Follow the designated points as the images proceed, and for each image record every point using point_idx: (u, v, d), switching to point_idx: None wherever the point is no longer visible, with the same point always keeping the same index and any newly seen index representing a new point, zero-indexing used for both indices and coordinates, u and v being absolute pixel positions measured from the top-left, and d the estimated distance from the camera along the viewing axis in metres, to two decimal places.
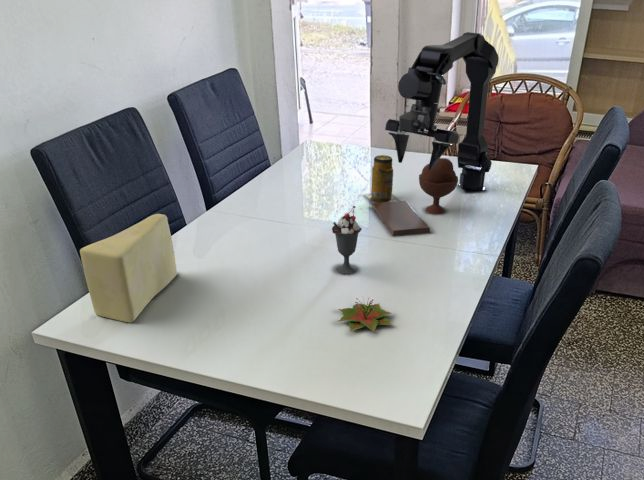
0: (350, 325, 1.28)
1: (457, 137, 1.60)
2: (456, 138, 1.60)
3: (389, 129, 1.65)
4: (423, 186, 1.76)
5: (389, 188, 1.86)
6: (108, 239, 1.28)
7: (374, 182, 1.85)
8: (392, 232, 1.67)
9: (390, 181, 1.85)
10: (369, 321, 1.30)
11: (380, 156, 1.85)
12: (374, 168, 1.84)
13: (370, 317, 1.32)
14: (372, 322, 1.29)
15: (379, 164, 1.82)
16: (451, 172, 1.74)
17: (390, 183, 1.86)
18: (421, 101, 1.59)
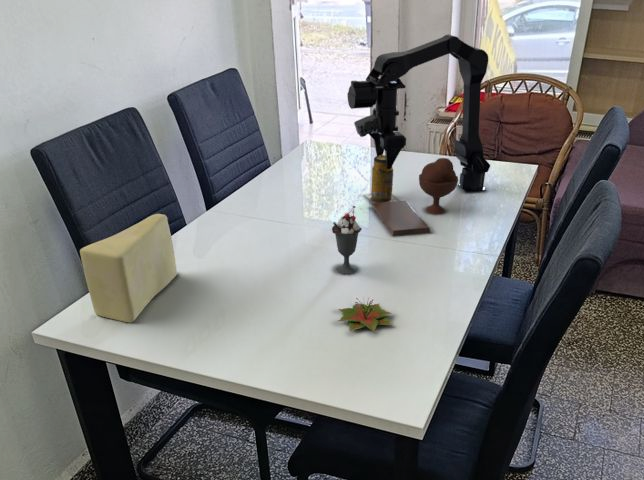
0: (350, 325, 1.28)
1: (402, 140, 1.72)
2: (400, 141, 1.72)
3: None
4: (423, 186, 1.76)
5: (389, 188, 1.86)
6: (108, 239, 1.28)
7: (374, 182, 1.85)
8: (392, 232, 1.67)
9: (390, 181, 1.85)
10: (369, 321, 1.30)
11: (380, 156, 1.85)
12: (374, 168, 1.84)
13: (370, 317, 1.32)
14: (372, 322, 1.29)
15: (379, 164, 1.82)
16: (451, 172, 1.74)
17: (390, 183, 1.86)
18: (376, 106, 1.74)
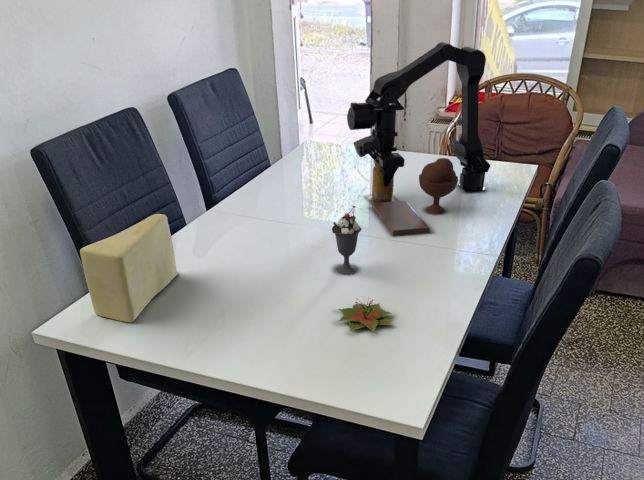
0: (350, 325, 1.28)
1: (400, 161, 1.75)
2: (399, 162, 1.75)
3: None
4: (423, 186, 1.76)
5: (390, 189, 1.86)
6: (108, 239, 1.28)
7: (375, 183, 1.85)
8: (392, 232, 1.67)
9: (391, 182, 1.85)
10: (369, 321, 1.30)
11: None
12: (375, 169, 1.83)
13: (370, 317, 1.32)
14: (372, 322, 1.29)
15: None
16: (451, 172, 1.74)
17: (391, 184, 1.85)
18: (375, 127, 1.77)
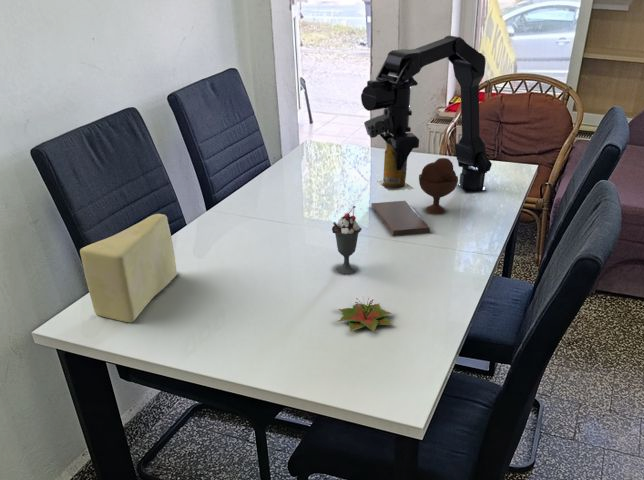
0: (350, 325, 1.28)
1: (414, 142, 1.62)
2: (413, 143, 1.62)
3: None
4: (423, 186, 1.76)
5: (403, 173, 1.73)
6: (108, 239, 1.28)
7: (387, 166, 1.72)
8: (392, 232, 1.67)
9: (404, 165, 1.72)
10: (369, 321, 1.30)
11: None
12: (387, 151, 1.70)
13: (370, 317, 1.32)
14: (372, 322, 1.29)
15: None
16: (451, 172, 1.74)
17: (404, 168, 1.72)
18: None
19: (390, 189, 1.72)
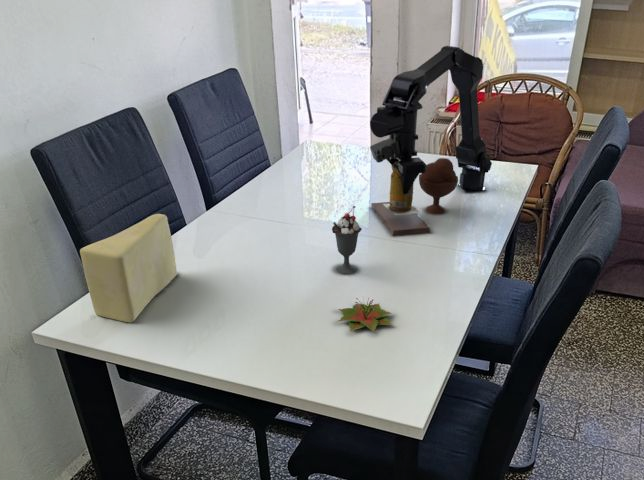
0: (350, 325, 1.28)
1: (422, 167, 1.60)
2: (420, 168, 1.60)
3: None
4: (423, 186, 1.76)
5: (410, 197, 1.71)
6: (108, 239, 1.28)
7: (393, 190, 1.70)
8: (392, 232, 1.67)
9: (410, 189, 1.70)
10: (369, 321, 1.30)
11: None
12: (393, 175, 1.68)
13: (370, 317, 1.32)
14: (372, 322, 1.29)
15: None
16: (451, 172, 1.74)
17: (410, 192, 1.70)
18: None
19: (397, 213, 1.70)
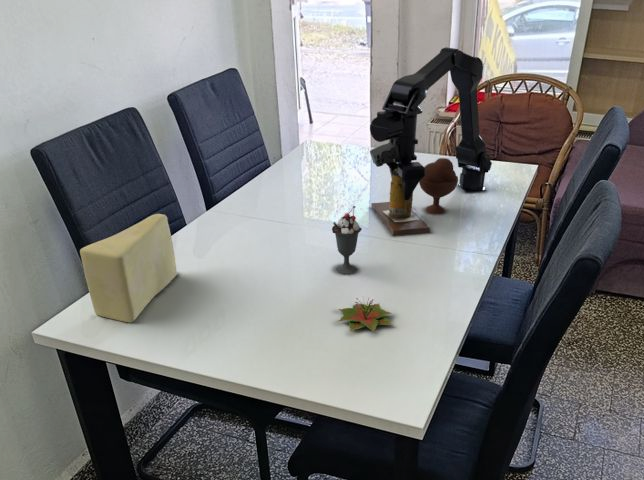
0: (350, 325, 1.28)
1: (421, 171, 1.60)
2: (420, 172, 1.60)
3: None
4: (423, 186, 1.76)
5: (409, 204, 1.72)
6: (108, 239, 1.28)
7: (393, 197, 1.71)
8: (392, 232, 1.67)
9: (410, 196, 1.71)
10: (369, 321, 1.30)
11: None
12: (393, 182, 1.69)
13: (370, 317, 1.32)
14: (372, 322, 1.29)
15: (398, 178, 1.68)
16: (451, 172, 1.74)
17: (410, 199, 1.71)
18: None
19: (396, 220, 1.72)
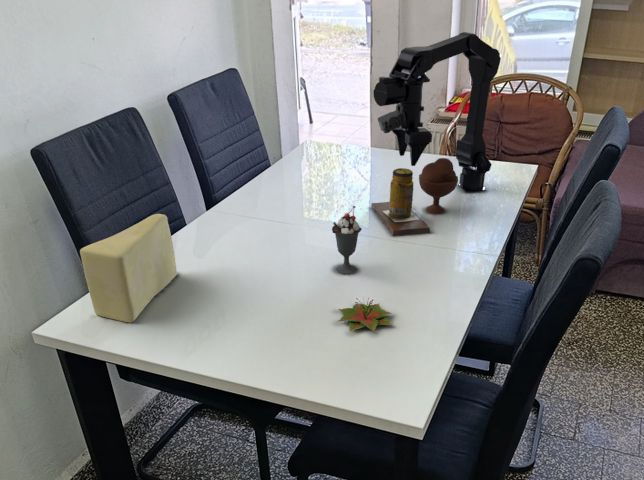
0: (350, 325, 1.28)
1: (428, 136, 1.67)
2: (426, 138, 1.67)
3: None
4: (423, 186, 1.76)
5: (409, 204, 1.72)
6: (108, 239, 1.28)
7: (393, 197, 1.71)
8: (392, 232, 1.67)
9: (410, 196, 1.71)
10: (369, 321, 1.30)
11: (399, 169, 1.70)
12: (393, 182, 1.69)
13: (370, 317, 1.32)
14: (372, 322, 1.29)
15: (398, 178, 1.68)
16: (451, 172, 1.74)
17: (410, 199, 1.71)
18: (400, 102, 1.69)
19: (396, 220, 1.72)
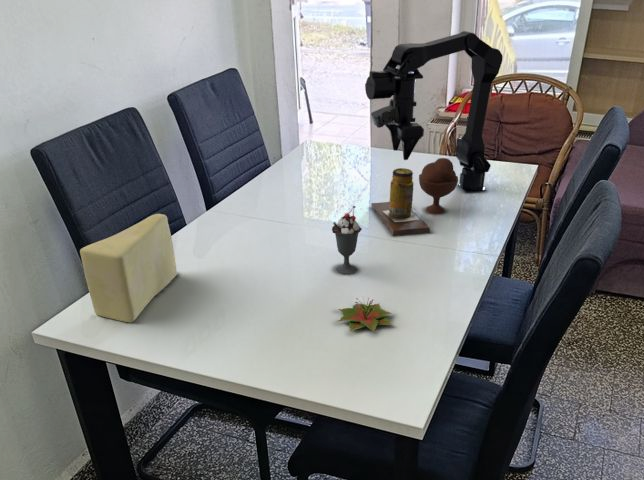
0: (350, 325, 1.28)
1: (419, 131, 1.70)
2: (418, 132, 1.70)
3: None
4: (423, 186, 1.76)
5: (409, 204, 1.72)
6: (108, 239, 1.28)
7: (393, 197, 1.71)
8: (392, 232, 1.67)
9: (410, 196, 1.71)
10: (369, 321, 1.30)
11: (399, 169, 1.70)
12: (393, 182, 1.69)
13: (370, 317, 1.32)
14: (372, 322, 1.29)
15: (398, 178, 1.68)
16: (451, 172, 1.74)
17: (410, 199, 1.71)
18: (393, 97, 1.73)
19: (396, 220, 1.72)
